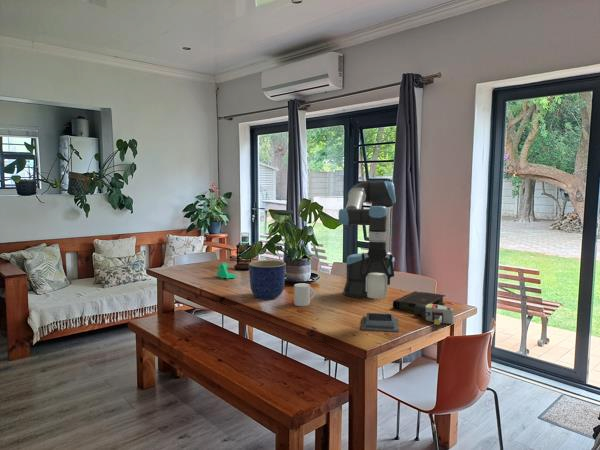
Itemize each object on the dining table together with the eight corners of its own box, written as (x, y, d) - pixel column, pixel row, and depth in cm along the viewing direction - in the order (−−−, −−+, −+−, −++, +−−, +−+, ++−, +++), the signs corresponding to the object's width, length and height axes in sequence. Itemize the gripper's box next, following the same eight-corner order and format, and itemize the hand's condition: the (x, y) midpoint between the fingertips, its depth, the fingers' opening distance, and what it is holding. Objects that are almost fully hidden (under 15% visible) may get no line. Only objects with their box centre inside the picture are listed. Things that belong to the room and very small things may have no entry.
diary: (392, 309, 223) (392, 299, 223) (413, 299, 242) (413, 290, 242) (427, 315, 211) (427, 305, 211) (446, 304, 230) (446, 295, 230)
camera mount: (236, 278, 294) (236, 263, 293) (227, 280, 289) (226, 264, 288) (226, 275, 303) (225, 261, 302) (216, 277, 298) (216, 262, 297)
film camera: (402, 321, 204) (421, 314, 214) (439, 330, 190) (458, 322, 199) (402, 307, 204) (421, 300, 214) (439, 314, 189) (457, 307, 199)
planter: (292, 298, 242) (292, 264, 241) (258, 303, 232) (258, 268, 230) (275, 290, 260) (275, 259, 258) (243, 295, 250) (242, 262, 248)
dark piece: (256, 267, 332) (255, 241, 330) (251, 271, 318) (251, 244, 316) (237, 267, 334) (236, 241, 332) (231, 270, 320) (231, 243, 318)
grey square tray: (362, 318, 206) (362, 311, 206) (397, 320, 203) (397, 313, 203) (361, 329, 191) (361, 321, 190) (398, 331, 188) (399, 323, 187)
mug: (291, 284, 231) (309, 281, 238) (291, 303, 232) (309, 300, 239) (299, 287, 224) (318, 284, 231) (299, 307, 225) (318, 303, 232)
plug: (367, 293, 201) (367, 272, 200) (385, 294, 199) (385, 273, 198) (366, 298, 193) (367, 275, 192) (385, 299, 191) (385, 276, 190)
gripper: (352, 241, 192) (352, 292, 194) (401, 242, 188) (400, 294, 190) (354, 239, 199) (353, 288, 201) (401, 240, 195) (400, 290, 197)
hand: (376, 291), depth 196 cm, fingers closed on plug, 8 cm apart
